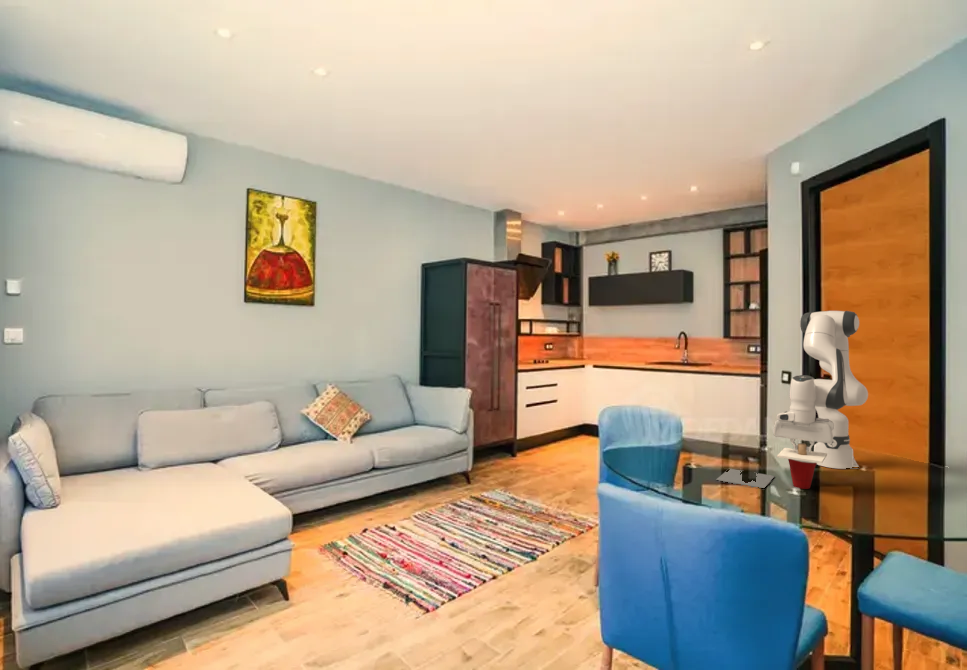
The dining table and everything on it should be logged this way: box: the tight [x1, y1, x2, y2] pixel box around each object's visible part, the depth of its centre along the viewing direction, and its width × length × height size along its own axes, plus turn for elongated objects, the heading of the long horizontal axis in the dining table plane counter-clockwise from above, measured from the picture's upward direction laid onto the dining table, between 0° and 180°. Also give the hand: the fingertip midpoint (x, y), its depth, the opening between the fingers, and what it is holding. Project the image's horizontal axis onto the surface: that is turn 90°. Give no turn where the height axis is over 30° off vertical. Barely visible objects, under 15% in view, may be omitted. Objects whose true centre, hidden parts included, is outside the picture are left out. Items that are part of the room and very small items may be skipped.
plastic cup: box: [787, 459, 818, 490], centre depth 206 cm, size 11×11×12 cm
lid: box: [776, 442, 827, 463], centre depth 206 cm, size 15×15×5 cm
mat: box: [715, 468, 776, 489], centre depth 217 cm, size 20×18×1 cm
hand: (802, 450), depth 206 cm, fingers closed on lid, 3 cm apart
